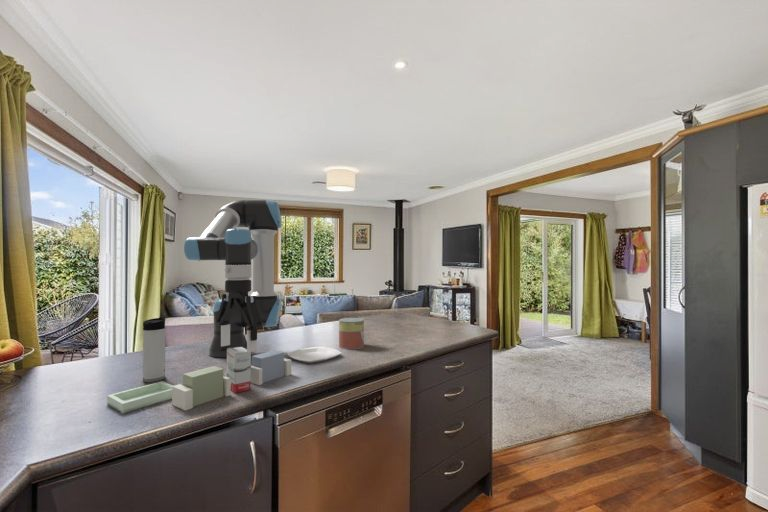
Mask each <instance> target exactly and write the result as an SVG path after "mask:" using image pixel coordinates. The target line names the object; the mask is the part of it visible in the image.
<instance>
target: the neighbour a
mask: <svg viewBox="0 0 768 512" xmlns="http://www.w3.org/2000/svg"><path fill="white" fill-rule="evenodd" d="M223 376H224V368H221V367H220V366H215V365H214V366H213V365H212V366H209V367H204V368H201V369H196V370H192V371H190V372H185V373H183V374H182V385H183V386H186V387H188V388H191V389H193V407H197V406H199V405H202V404H205V403H208V402H211V401H214V400H217V399H221V398H222V397H224V395H223Z"/></svg>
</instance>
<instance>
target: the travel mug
mask: <svg viewBox="0 0 768 512" xmlns="http://www.w3.org/2000/svg"><path fill="white" fill-rule="evenodd" d="M142 326H143V328H142V382H144V383H156V382H160V381H163V380H164V379H165V378H166V317H164V316H160V317H156V318H155V317H154V318H150V319H147V320H144V321H143V322H142ZM162 379H163V380H162ZM159 380H160V381H159ZM155 381H156V382H155Z"/></svg>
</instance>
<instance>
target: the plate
mask: <svg viewBox="0 0 768 512" xmlns="http://www.w3.org/2000/svg"><path fill="white" fill-rule="evenodd" d="M342 354H343V353H342V352H341V351H340V350H338V349H336V348H332V347H327V346H320V345H319V346H313V347H312V346H311V347H305V348H301V349H296V350H292V351H290V352H287V353H286V355H287V356H288V357H289V358H291V359H293V360H297V361H299V362H304V363H307V364H312V363H314V362H315V363H319V362H324V361H328V360H330V359H333V358H335V357H337V356H340V355H342Z"/></svg>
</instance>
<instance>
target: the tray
mask: <svg viewBox="0 0 768 512" xmlns="http://www.w3.org/2000/svg"><path fill="white" fill-rule="evenodd" d="M172 386H174V385H172V384H170V383H169V382H166V381H163V380H160V381H156V382H152V383H150V384H146V385H142V386H138V387H134V388H131V389H127V390H123V391H119V392H115V393H112V394H111V393H110V394H109V395H108V394H107V406H109V407H111V408H113V409H114V410H116V411H117V412H119V413H121V414H125V413H128V412H132V411H135V410H139V409H142V408H145V407H149V406H151V405H155V404H158V403H162V402H165V401H168V400H172Z"/></svg>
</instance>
